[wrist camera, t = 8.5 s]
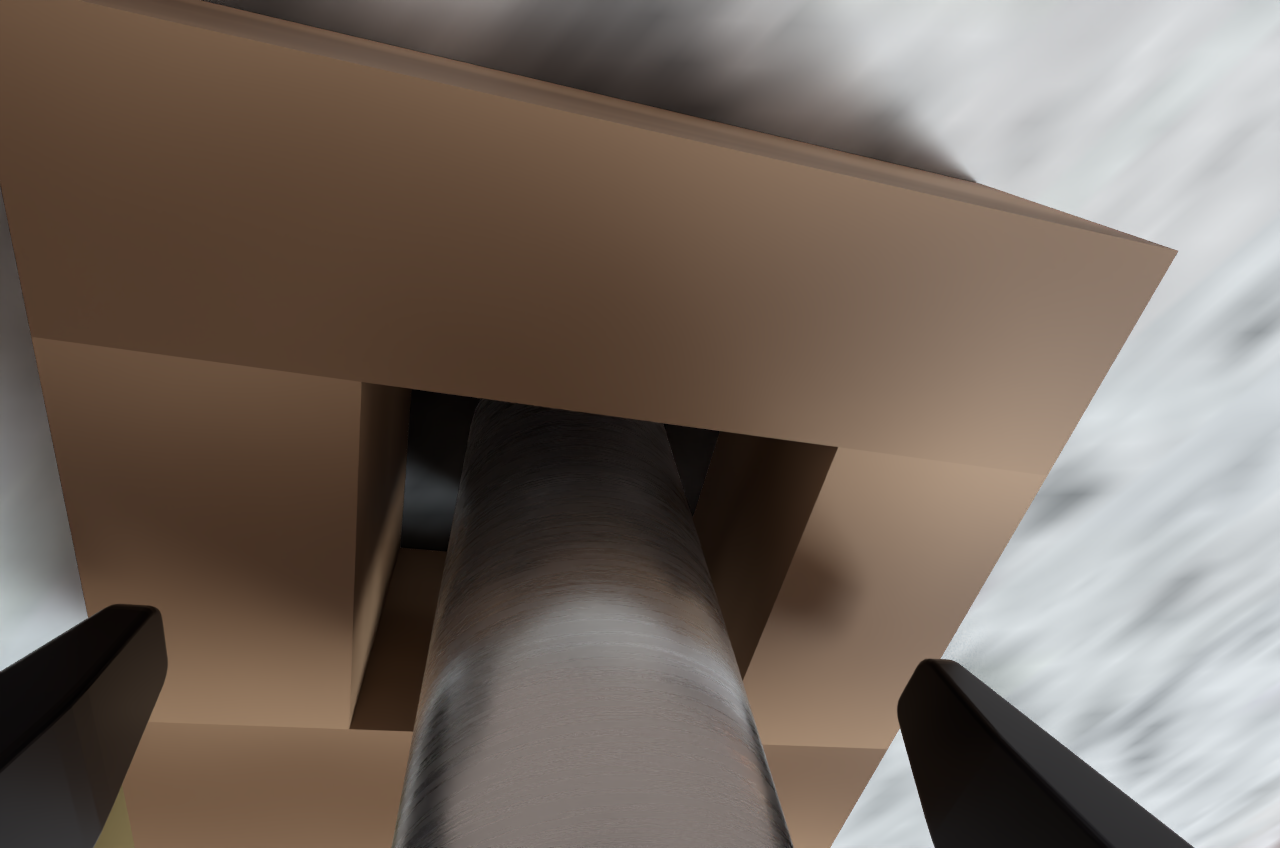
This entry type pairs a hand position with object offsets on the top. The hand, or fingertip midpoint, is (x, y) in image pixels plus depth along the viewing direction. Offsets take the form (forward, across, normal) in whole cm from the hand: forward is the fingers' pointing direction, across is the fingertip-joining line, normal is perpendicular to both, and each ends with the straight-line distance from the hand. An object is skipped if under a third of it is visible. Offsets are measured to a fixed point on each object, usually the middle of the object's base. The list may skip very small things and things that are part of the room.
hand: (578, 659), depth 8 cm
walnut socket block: (+5, 0, 0) cm, 5 cm away
